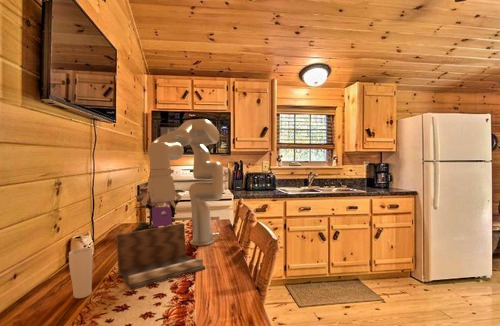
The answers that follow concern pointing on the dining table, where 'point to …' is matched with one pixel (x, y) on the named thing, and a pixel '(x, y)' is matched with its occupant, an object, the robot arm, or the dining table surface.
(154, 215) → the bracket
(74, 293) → the white cup
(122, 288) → the dining table surface
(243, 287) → the dining table surface
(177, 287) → the dining table surface
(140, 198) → the rose bouquet
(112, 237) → the dining table surface
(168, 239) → the stand
